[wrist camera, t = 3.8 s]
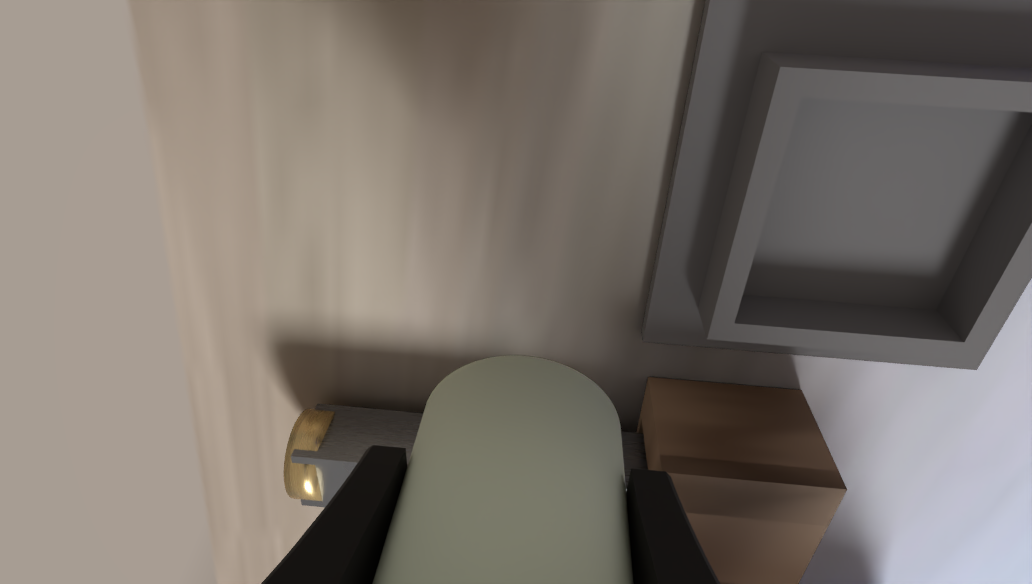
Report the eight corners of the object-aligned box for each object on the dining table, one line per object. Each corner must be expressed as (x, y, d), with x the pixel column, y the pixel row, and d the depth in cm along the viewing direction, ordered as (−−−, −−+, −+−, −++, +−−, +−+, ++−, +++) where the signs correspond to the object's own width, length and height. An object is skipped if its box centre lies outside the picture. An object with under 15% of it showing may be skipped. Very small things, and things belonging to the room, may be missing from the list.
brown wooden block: (801, 390, 20) (847, 489, 17) (752, 514, 23) (781, 616, 20) (648, 377, 20) (661, 472, 17) (621, 501, 24) (629, 600, 20)
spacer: (626, 357, 11) (657, 637, 7) (615, 501, 13) (634, 782, 9) (411, 352, 11) (314, 616, 7) (434, 493, 14) (371, 759, 9)
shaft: (707, 426, 21) (725, 499, 18) (689, 484, 22) (704, 558, 20) (312, 390, 21) (277, 456, 19) (323, 449, 23) (292, 517, 20)
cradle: (1173, 3, 13) (1260, 18, 12) (967, 359, 19) (1006, 404, 17) (710, -23, 14) (728, -11, 12) (641, 332, 19) (647, 373, 17)
